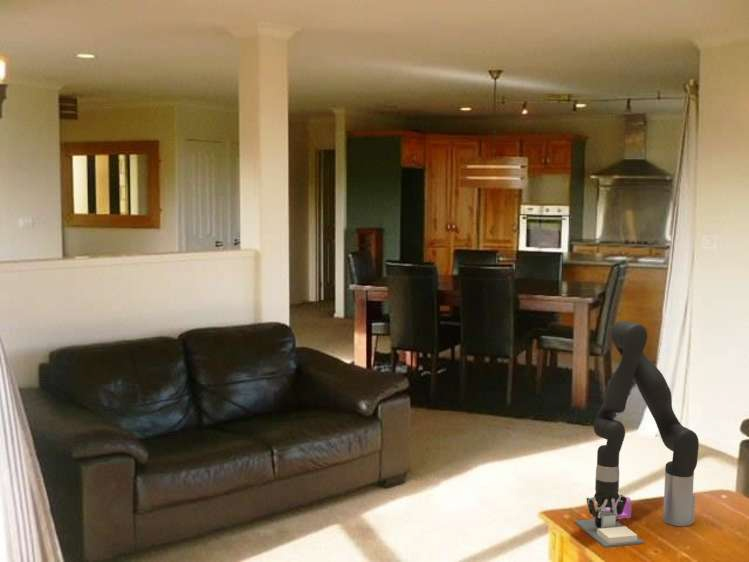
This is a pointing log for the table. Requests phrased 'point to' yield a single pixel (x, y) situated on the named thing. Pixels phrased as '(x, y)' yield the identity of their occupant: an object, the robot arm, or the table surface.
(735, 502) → the table surface
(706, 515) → the table surface
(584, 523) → the pad
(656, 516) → the table surface
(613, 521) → the stub
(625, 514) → the bracket
